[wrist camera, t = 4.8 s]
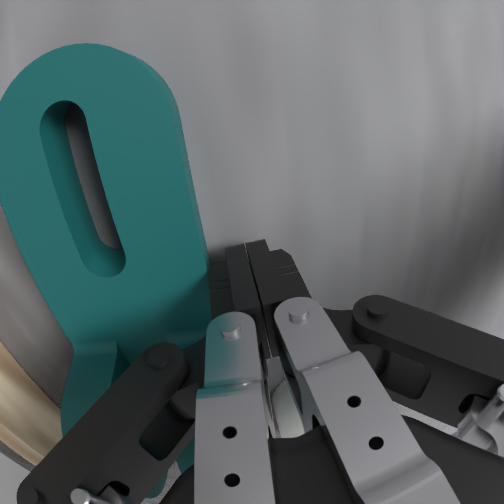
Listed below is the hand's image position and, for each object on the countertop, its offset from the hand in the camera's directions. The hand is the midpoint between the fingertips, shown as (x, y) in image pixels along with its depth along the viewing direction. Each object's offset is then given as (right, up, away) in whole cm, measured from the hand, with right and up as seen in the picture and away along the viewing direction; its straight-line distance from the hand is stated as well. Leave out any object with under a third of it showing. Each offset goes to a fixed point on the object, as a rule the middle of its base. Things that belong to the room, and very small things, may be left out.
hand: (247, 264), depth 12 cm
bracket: (-5, 0, +1) cm, 5 cm away
